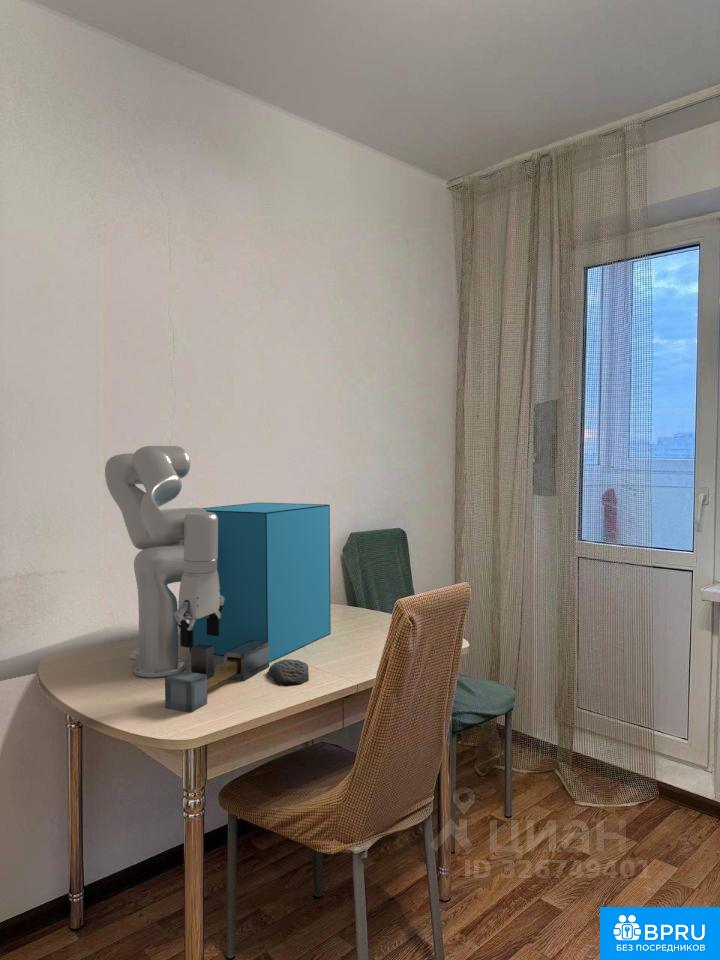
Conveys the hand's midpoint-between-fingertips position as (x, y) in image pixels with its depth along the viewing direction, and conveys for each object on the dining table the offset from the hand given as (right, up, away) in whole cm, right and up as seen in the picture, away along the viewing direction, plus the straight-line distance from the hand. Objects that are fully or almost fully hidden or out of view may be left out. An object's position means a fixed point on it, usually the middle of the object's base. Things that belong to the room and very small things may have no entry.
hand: (200, 640), depth 153 cm
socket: (-2, -13, -6) cm, 14 cm away
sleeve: (+8, -12, +17) cm, 22 cm away
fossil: (+18, -13, +13) cm, 26 cm away
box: (+8, -11, +45) cm, 47 cm away
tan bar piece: (+2, -10, +3) cm, 11 cm away
